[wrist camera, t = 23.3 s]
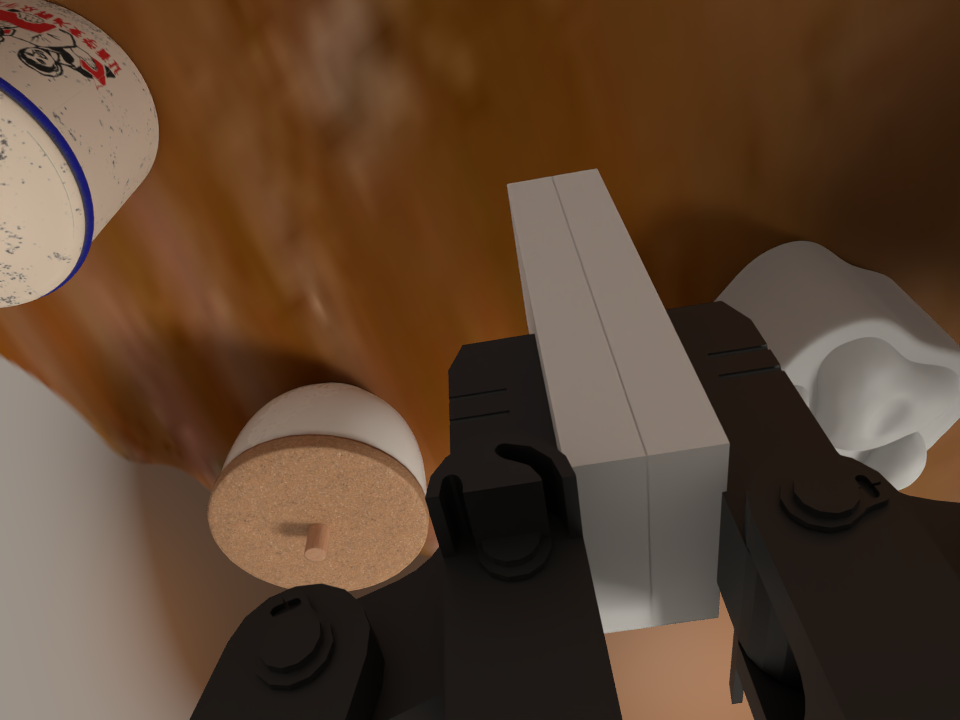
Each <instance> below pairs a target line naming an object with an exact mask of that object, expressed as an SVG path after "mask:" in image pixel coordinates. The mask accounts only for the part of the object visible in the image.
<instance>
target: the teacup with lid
mask: <svg viewBox="0 0 960 720" xmlns="http://www.w3.org/2000/svg"><path fill="white" fill-rule="evenodd" d="M158 142H159V125H158V117H157V113H156V108H155V105H154V102H153V99H152V96H151V94H150V91H149V89H148V87H147V85H146V83H145V81H144V79H143V77H142V75H141V74H140V72H139V70H138V69H137V67H136V66H135V64H134V63H133V62H132V60H131V59H130V58H129V56H128V55H127V54H126V53H125V52H124V51H123V50H122V48H121V47H120V46H119V45H118V44H117V43H116V42H115V41H114V40H113V39H112V38H110V37H109V36H108V35H107V34H106V33H105V32H103V31H102V30H101V29H99V28H98V27H97V26H95V25H94V24H93V23H91V22H90V21H88V20H86V19H85V18H83V17H82V16H80V15H78V14H76V13H74V12H72V11H70V10H68V9H66V8H64V7H61V6H59V5H56V4H53V3H50V2H47V1H43V0H0V308H1V307H9V306H15V305H20V304H23V303H27V302H30V301H33V300H35V299H38V298H41V297H43V296H46V295H48V294H50V293H52V292H53V291H55V290H57V289H58V288H60V287H61V286H63V285H64V284H65V283H66V282H67V281H69V280H70V279H71V278H72V277H73V276H74V274H75V273H76V272H77V271H78V270H79V268H80V267H81V265H82V264H83V262H84V261H85V258H86V256H87V254H88V252H89V249H90V246H91V243H92V241H93V240H94V239H95V238H96V236H97V235H98V234H99V233H100V232H101V230H102V229H103V228H104V227H105V226H106V224H107V223H108V222H109V221H110V220H111V218H112V217H113V216H114V215H115V214H116V213H117V211H118V210H119V209H120V208H121V207H122V205H123V204H124V203H125V202H126V201H127V199H128V198H129V197H130V196H131V195H132V193H133V192H134V191H135V190H136V189H137V187H138V186H139V185H140V184H141V183H142V181H143V180H144V179H145V178H146V176H147V175H148V173H149V171H150V169H151V167H152V165H153V163H154V160H155V157H156V154H157V149H158Z"/></svg>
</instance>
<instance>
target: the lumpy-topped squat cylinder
mask: <svg viewBox="0 0 960 720" xmlns="http://www.w3.org/2000/svg"><path fill="white" fill-rule="evenodd" d="M717 301H723V302H725V303H726V304H728V305H729V306H731V307H732V308H734V309H736V310H737V311H739V312H740V313H742V314H743V315H745V316H747V317H748V318H750V319H751V320H752V322H753V323H754V325H755V326H756V328H757V329H758V331H759V332H760V334H761V335H762V337H763V338H764V340H765V342H766V343H767V347H768V350H769V349H771V351H772V352H773V354H774V355H775V357H776V358H777V360H778V362H779V363H780V365H781V370H782V371H785V372H786V374H787V375H788V377H789V378H790V380H791V382H792V383H793V385H794V386H795V388H796V389H797V391H798V392H799V394H800V395H801V397H802V398H803V400H804V402H805V403H806V405H807V406H808V408H809V409H810V411H811V412H812V414H813V415H814V417H815V418H816V420H817V422H818V423H819V425H820V426H821V428H822V429H823V431H824V432H825V434H826V435H827V437H828V438H829V440H830V442H831V443H832V445H833V446H834V448H835V449H836V451H837V452H838V453H839V454H840V455H843V456H847V457H851V458H853V459H855V460H857V461H859V462H861V463H863V464H865V465H867V466H869V467H871V468H872V469H874V470H876V471H878V472H879V473H880V474H881V475H882V476H883V477H884V478H885V479H886V480H887V481H889V482H890V483H891V484H892V485H893V486H894V487H895V488H896V489H897V490H901V489H903V488H905V487H907V486H909V485H910V484H912V483H913V482H914V481H915V480H916V479H917V478H918V477H919V475H920V474H921V472H922V471H923V469H924V467H925V464H926V457H927V453H926V451H927V450H928V449H929V448H930V447H931V446H932V445H933V444H934V443H935V442H936V441H937V440H938V439H939V438H940V437H941V436H942V435H943V434H944V433H945V432H946V431H947V430H948V429H949V428H950V427H951V426H952V425H953V424H954V423H955V422H956V421H957V420H958V419H959V418H960V346H959V345H958V344H957V343H956V342H955V341H954V340H953V339H952V338H951V337H950V336H949V335H948V334H947V333H946V332H945V331H944V330H943V329H942V328H941V327H940V326H939V325H938V324H937V323H936V322H935V321H934V320H933V319H932V318H931V317H930V316H929V315H928V314H927V313H926V312H925V311H924V310H923V309H922V308H921V307H920V306H919V305H918V304H917V303H916V302H915V301H914V300H913V299H912V298H911V297H909V296H908V295H907V294H906V293H905V292H904V291H903V290H902V289H901V288H900V287H899V286H898V285H897V284H896V283H895V282H894V281H893V280H892V279H891V278H889V277H888V276H886V275H883V274H881V273H878V272H874V271H870V270H866V269H862V268H859V267H855V266H853V265H850V264H848V263H847V262H845V261H843V260H842V259H840V258H839V257H838V256H836V255H835V254H834V253H832V252H831V251H830V250H828V249H827V248H825V247H823V246H821V245H819V244H817V243H814V242H810V241H794V242H789V243H785V244H782V245H779V246H777V247H774V248H772V249H770V250H768V251H766V252H765V253H763V254H761V255H760V256H758V257H757V258H755V259H754V260H753V261H752V262H750V263H749V264H748V265H747V266H746V267H745V268H744V269H743V270H742V271H741V272H740V273H739V274H738V275H737V276H736V277H735V278H734V279H733V280H732V282H731V283H730V284H729V285H728V286H727V287H726V288H725V289H724V291H723V292H722V293H721V294H720V295H719V296H718V297H717V298H716V300H715V301H714V302H717Z"/></svg>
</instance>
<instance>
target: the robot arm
mask: <svg viewBox="0 0 960 720" xmlns="http://www.w3.org/2000/svg"><path fill="white" fill-rule="evenodd" d="M507 189H508V196H509V202H510V209H511V216H512V223H513V230H514V236H515V243H516V250H517V257H518V264H519V270H520V277H521V284H522V291H523V298H524V304H525V311H526V318H527V324H528V329H529V335H523V336H517V337H510V338H504V339H498V340H492V341H486V342H480V343H473V344H467V345H463V346H462V347H461V349H460V351H459V353H458V354H457V356H456V358H455V360H454V362H453V363H452V365H451V367H450V369H449V370H448V375H449V400H450V403H449V415H450V455H449V456H447V457H446V458H445V459H444V460H443V462H442V463H441V464H440V465H439V467H438V468H437V469H436V470H435V472H434V473H433V474H432V475H431V477H430V481H429V485H428V488H427V492H426V496H425V501H426V504H427V507H428V511H429V514H430V517H431V520H432V524H433V527H434V530H435V534H436V537H437V540H438V543H439V548H438V549H437V550H436V552H435V553H434V554H433V556H432V557H431V558H430V559H428V560H427V561H426V562H425V563H424V564H423V565H422V566H420V567H419V568H418V569H417V570H416V571H414V572H412V573H410V574H409V575H407V576H405V577H403V578H402V579H400V580H398V581H396V582H394V583H392V584H389V585H387V586H385V587H383V588H380V589H378V590H376V591H374V592H372V593H369V594H367V595H365V596H363V597H361V598H358V599H355V598H354V597H353V596H352V595H351V594H350V593H348V592H347V591H346V590H345V589H341V588H338V587H334V586H330V585H327V584H323V583H320V584H311V585H302V586H295V587H293V588H290V589H288V590H286V591H284V592H282V593H279V594H277V595H275V596H272V597H270V598H268V599H267V600H266V601H265V602H264V603H262V604H261V605H260V606H259V607H257V608H256V609H255V610H254V611H253V612H251V613H250V614H249V615H248V616H246V617H245V618H244V620H243V621H242V623H241V624H240V626H239V627H238V628H237V630H236V632H235V633H234V634H233V636H232V637H231V638H230V640H229V641H228V643H227V645H226V647H225V649H224V651H223V653H222V655H221V657H220V659H219V661H218V663H217V665H216V667H215V669H214V671H213V673H212V675H211V677H210V680H209V681H208V683H207V685H206V687H205V689H204V692H203V693H202V696H201V698H200V700H199V702H198V704H197V706H196V708H195V710H194V712H193V714H192V716H191V718H190V720H622V715H621V711H620V706H619V702H618V697H617V693H616V688H615V683H614V678H613V673H612V669H611V664H610V660H609V655H608V650H607V645H606V641H605V636H604V633H610V632H618V631H625V630H632V629H639V628H647V627H654V626H660V625H668V624H676V623H683V622H690V621H697V620H705V619H712V618H718V615H719V600H720V592H721V594H722V597H723V600H724V602H725V605H726V608H727V610H728V613H729V616H730V619H731V621H732V624H733V626H734V636H733V648H732V659H731V670H730V681H729V685H730V693H731V699H732V704H736V703H742V700H743V691H744V692H745V695H746V698H747V701H748V703H749V706H750V709H751V712H752V714H753V717H754V720H960V503H956V502H946V501H937V500H930V499H925V498H919V497H914V496H909V495H906V494H903V493H900V492H898V490H897V489H896V488H895V487H894V486H893V485H892V484H891V483H890V482H889V481H887V480H886V479H885V478H884V477H883V476H882V475H881V474H880V473H879V472H878V471H876V470H874V469H872V468H871V467H869V466H867V465H865V464H863V463H861V462H859V461H857V460H855V459H853V458H851V457H847V456H843V455H840V454H839V453H838V452H837V451H836V449H835V448H834V446H833V445H832V443H831V442H830V440H829V438H828V437H827V435H826V434H825V432H824V431H823V429H822V428H821V426H820V425H819V423H818V422H817V420H816V418H815V417H814V415H813V414H812V412H811V411H810V409H809V408H808V406H807V405H806V403H805V402H804V400H803V398H802V397H801V395H800V394H799V392H798V391H797V389H796V388H795V386H794V385H793V383H792V382H791V380H790V378H789V377H788V375H787V374H786V372H785V371H782V370H781V365H780V363H779V362H778V360H777V358H776V357H775V355H774V354H773V352H772V351H771V349H769V350H768V347H767V343H766V342H765V340H764V338H763V337H762V335H761V334H760V332H759V331H758V329H757V328H756V326H755V325H754V323H753V322H752V320H751V319H750V318H748V317H747V316H745V315H743V314H742V313H740V312H739V311H737V310H736V309H734V308H732V307H731V306H729V305H728V304H726V303H725V302H723V301H717V302H711V303H704V304H698V305H692V306H686V307H680V308H674V309H667V310H665V308H664V306H663V304H662V302H661V300H660V298H659V296H658V294H657V291H656V289H655V287H654V285H653V283H652V281H651V279H650V277H649V275H648V273H647V271H646V269H645V267H644V265H643V263H642V260H641V258H640V256H639V254H638V252H637V250H636V248H635V246H634V244H633V242H632V240H631V238H630V236H629V234H628V231H627V229H626V227H625V225H624V223H623V221H622V219H621V217H620V215H619V213H618V211H617V209H616V207H615V205H614V202H613V200H612V198H611V196H610V194H609V192H608V190H607V188H606V186H605V184H604V182H603V180H602V178H601V176H600V174H599V171H598V169H591V170H585V171H579V172H574V173H568V174H562V175H556V176H551V177H545V178H539V179H533V180H528V181H522V182H516V183H510V184H507Z"/></svg>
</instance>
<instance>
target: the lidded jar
mask: <svg viewBox="0 0 960 720" xmlns="http://www.w3.org/2000/svg"><path fill="white" fill-rule="evenodd" d="M425 496H426V478H425V471H424V465H423V459H422V456H421V453H420V449H419V446H418V444H417V441H416V438H415V436H414V435H413V433H412V431H411V430H410V428H409V426H408V425H407V423H406V421H405V420H404V419H403V418H402V417H401V415H400V414H399V413H398V412H397V411H396V410H395V409H394V408H393V407H391V406H390V405H389V404H388V403H387V402H385V401H384V400H382V399H381V398H379V397H378V396H376V395H374V394H372V393H370V392H367V391H366V390H364V389H361V388H359V387H357V386H353V385H350V384H345V383H336V382H329V383H320V384H312V385H307V386H302V387H299V388H296V389H293V390H290V391H288V392H286V393H284V394H282V395H280V396H278V397H276V398H274V399H272V400H271V401H270V402H269V403H267V404H266V405H265V406H263V407H262V408H261V409H260V410H259V411H257V412H256V413H255V414H254V416H253V417H252V418H251V419H250V420H249V421H248V422H247V424H246V425H245V426H244V428H243V429H242V430H241V432H240V434H239V435H238V437H237V439H236V440H235V442H234V444H233V446H232V448H231V449H230V451H229V453H228V456H227V458H226V461H225V463H224V466H223V469H222V472H221V474H220V475H219V477H218V479H217V480H216V482H215V484H214V487H213V490H212V493H211V497H210V500H209V503H208V513H207V517H208V522H209V528H210V530H211V533H212V535H213V537H214V540H215V541H216V543H217V544H218V546H219V547H220V548H221V550H222V551H223V552H224V553H225V555H226V556H227V557H228V558H229V559H230V560H231V561H232V562H234V563H235V564H236V565H238V566H239V567H240V568H242V569H243V570H245V571H246V572H248V573H250V574H251V575H253V576H255V577H257V578H259V579H262V580H264V581H267V582H268V583H272V584H274V585H277V586H280V587H284V588H288V589H290V588H293V587H295V586H302V585H311V584H320V583H323V584H327V585H330V586H334V587H338V588H341V589H345V590H346V591H352V590H357V589H362V588H365V587H369V586H373V585H375V584H378V583H380V582H383V581H385V580H387V579H389V578H391V577H392V576H394V575H396V574H398V573H399V572H401V571H402V570H403V569H404V568H405V567H407V566H408V565H409V564H410V563H411V562H412V561H413V560H414V559H415V557H416V556H417V555H418V554H419V552H420V550H421V549H422V547H423V545H424V543H425V540H426V537H427V534H428V524H429V512H428V507H427V504H426V501H425Z"/></svg>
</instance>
